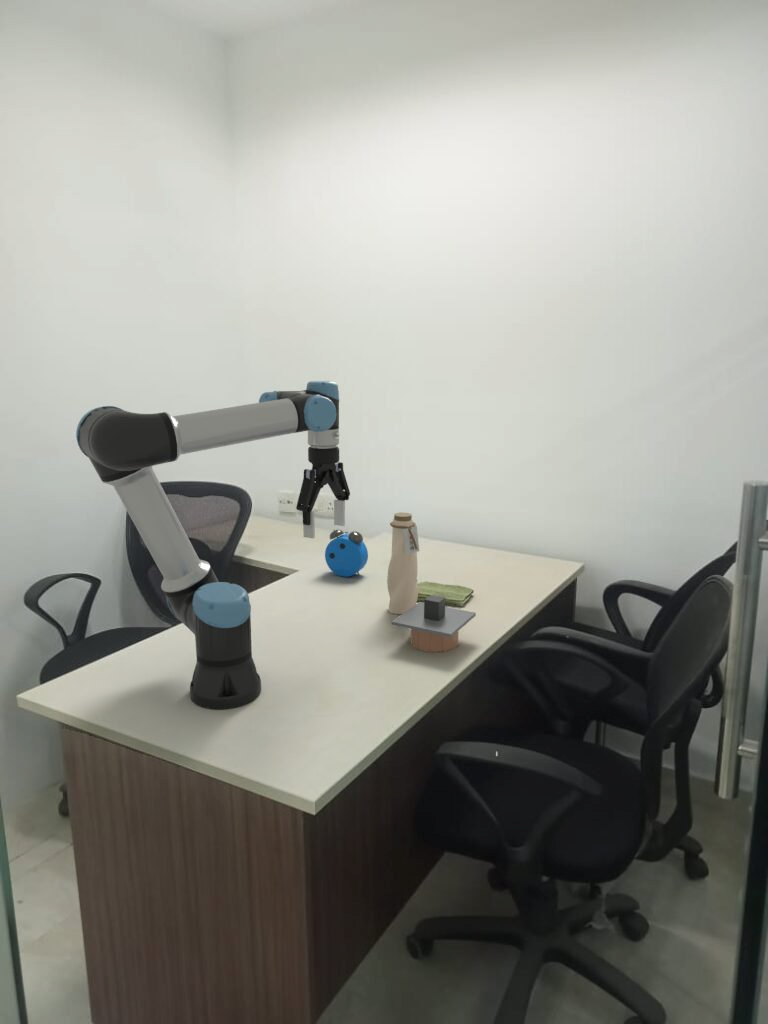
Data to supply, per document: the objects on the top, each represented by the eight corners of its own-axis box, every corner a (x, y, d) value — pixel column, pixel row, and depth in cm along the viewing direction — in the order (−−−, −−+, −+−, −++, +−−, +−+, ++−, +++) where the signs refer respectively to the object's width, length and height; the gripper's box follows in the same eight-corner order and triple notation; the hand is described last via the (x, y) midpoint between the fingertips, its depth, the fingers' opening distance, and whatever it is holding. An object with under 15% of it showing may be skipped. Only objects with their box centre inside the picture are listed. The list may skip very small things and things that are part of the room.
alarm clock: (368, 574, 237) (368, 530, 233) (360, 580, 231) (360, 535, 228) (332, 569, 241) (332, 526, 238) (324, 575, 236) (323, 530, 232)
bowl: (445, 655, 176) (446, 632, 175) (403, 645, 182) (403, 623, 180) (464, 638, 186) (465, 616, 185) (423, 629, 192) (423, 608, 190)
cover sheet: (450, 637, 172) (451, 614, 171) (391, 624, 179) (391, 602, 178) (475, 615, 186) (476, 594, 184) (419, 604, 193) (420, 584, 192)
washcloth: (464, 609, 208) (464, 599, 207) (405, 602, 214) (406, 591, 213) (474, 595, 220) (475, 585, 219) (419, 588, 226) (419, 578, 225)
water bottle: (427, 610, 205) (429, 515, 199) (406, 619, 199) (408, 520, 192) (400, 601, 212) (402, 509, 206) (379, 609, 206) (380, 514, 199)
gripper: (306, 454, 161) (308, 545, 166) (363, 441, 183) (363, 522, 188) (279, 451, 165) (282, 540, 170) (338, 439, 186) (338, 518, 191)
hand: (324, 531), depth 179 cm, fingers open, 13 cm apart
